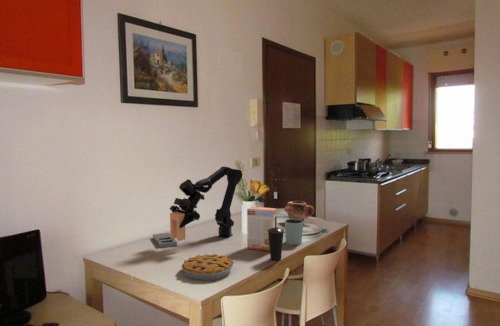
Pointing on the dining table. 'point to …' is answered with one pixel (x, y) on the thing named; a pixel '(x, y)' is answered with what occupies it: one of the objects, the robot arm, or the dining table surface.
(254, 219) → the cracker box
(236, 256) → the dining table surface
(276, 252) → the drinking cup
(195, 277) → the pie
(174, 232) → the clip
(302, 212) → the brown teapot
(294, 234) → the blue gray cylindrical container
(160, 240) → the gray slotted base
